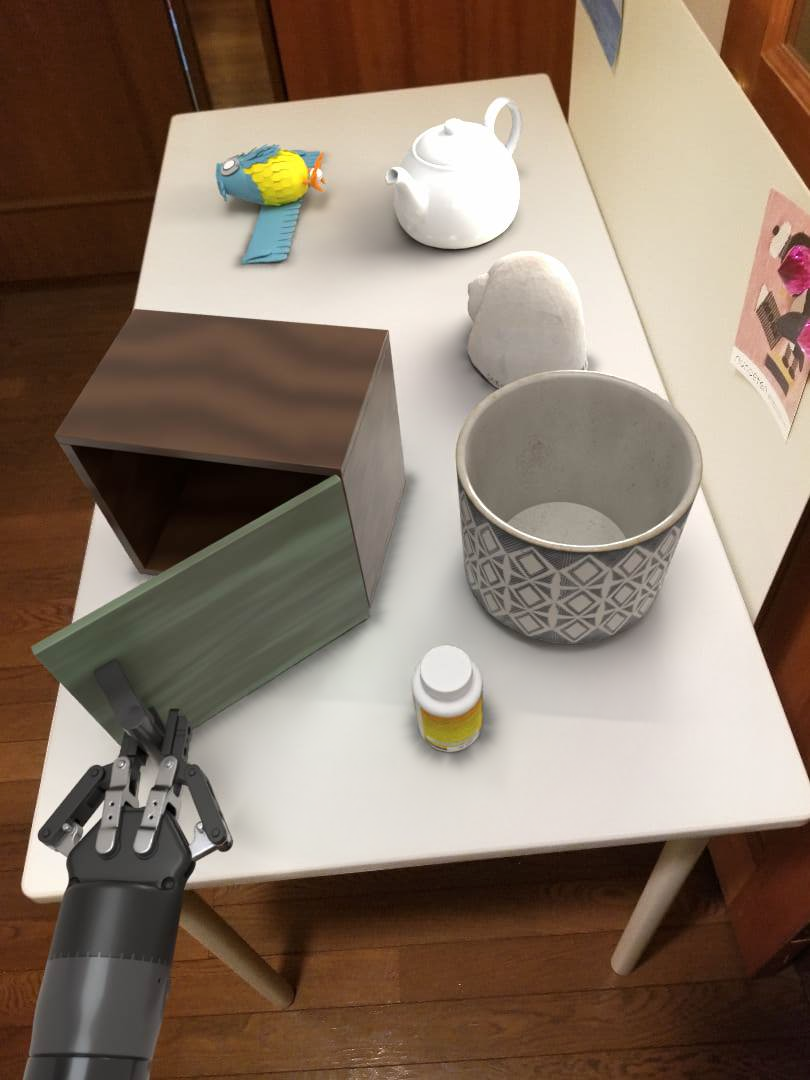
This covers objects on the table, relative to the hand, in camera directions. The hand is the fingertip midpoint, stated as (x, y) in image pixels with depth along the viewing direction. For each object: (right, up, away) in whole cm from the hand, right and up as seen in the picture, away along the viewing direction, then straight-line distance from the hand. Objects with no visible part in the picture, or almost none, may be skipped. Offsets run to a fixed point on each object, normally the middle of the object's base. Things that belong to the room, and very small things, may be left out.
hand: (161, 713), depth 60 cm
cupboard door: (+7, -2, +10) cm, 12 cm away
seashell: (+33, +36, +36) cm, 60 cm away
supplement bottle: (+22, -3, +9) cm, 24 cm away
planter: (+33, +10, +17) cm, 39 cm away
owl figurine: (0, +62, +58) cm, 85 cm away
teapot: (+26, +58, +53) cm, 83 cm away
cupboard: (+5, +15, +23) cm, 27 cm away
